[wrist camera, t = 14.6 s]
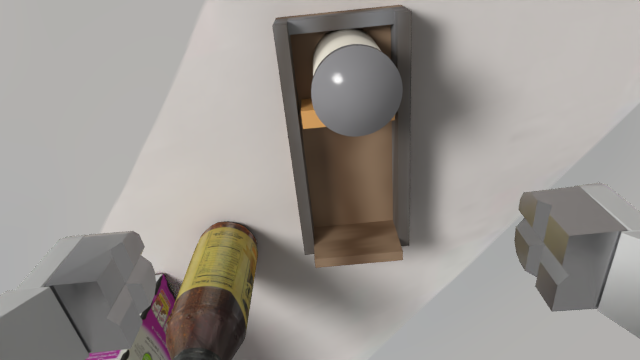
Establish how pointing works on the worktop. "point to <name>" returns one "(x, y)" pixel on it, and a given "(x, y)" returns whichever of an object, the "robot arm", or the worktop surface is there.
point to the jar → (354, 83)
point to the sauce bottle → (214, 296)
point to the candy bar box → (148, 329)
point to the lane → (348, 146)
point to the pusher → (311, 115)
